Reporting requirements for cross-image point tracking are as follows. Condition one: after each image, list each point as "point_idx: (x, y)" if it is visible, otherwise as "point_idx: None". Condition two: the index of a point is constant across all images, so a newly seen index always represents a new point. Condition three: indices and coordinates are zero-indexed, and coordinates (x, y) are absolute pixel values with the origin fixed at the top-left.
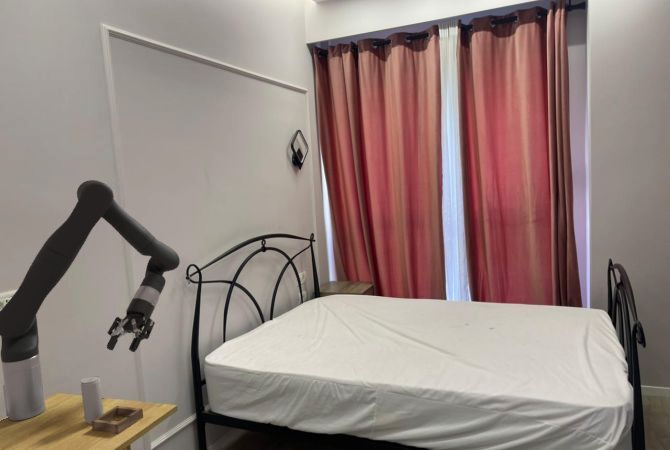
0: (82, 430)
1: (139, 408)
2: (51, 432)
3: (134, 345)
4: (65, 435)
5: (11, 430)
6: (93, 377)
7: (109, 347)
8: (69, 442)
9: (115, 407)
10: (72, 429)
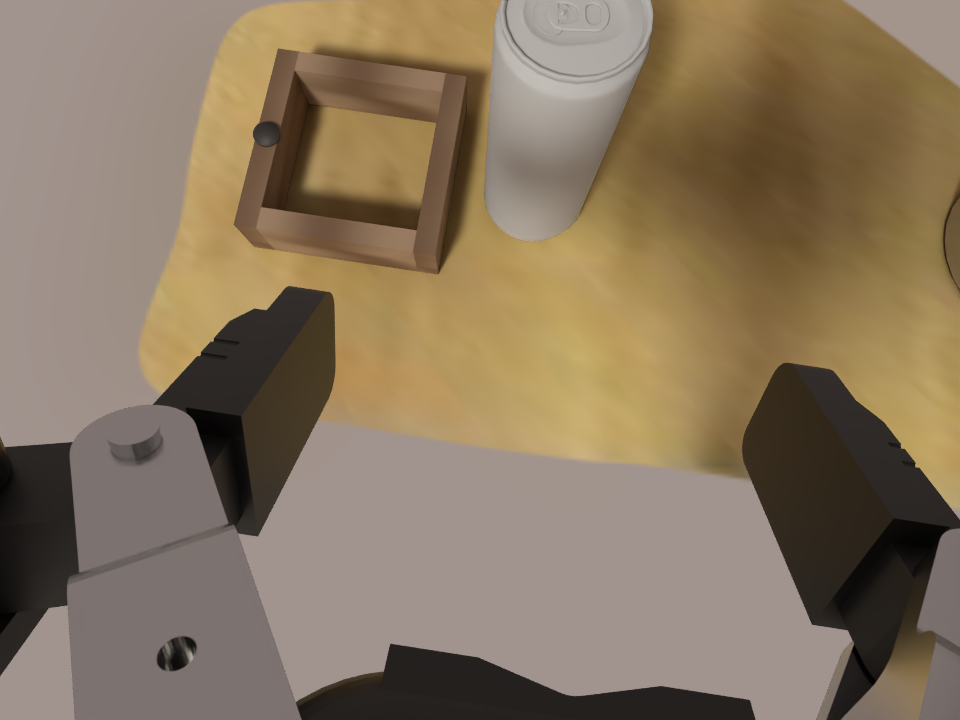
0: None
1: (255, 226)
2: (680, 80)
3: (235, 336)
4: None
5: (924, 87)
6: (580, 55)
7: (780, 386)
8: None
9: (431, 232)
10: None
